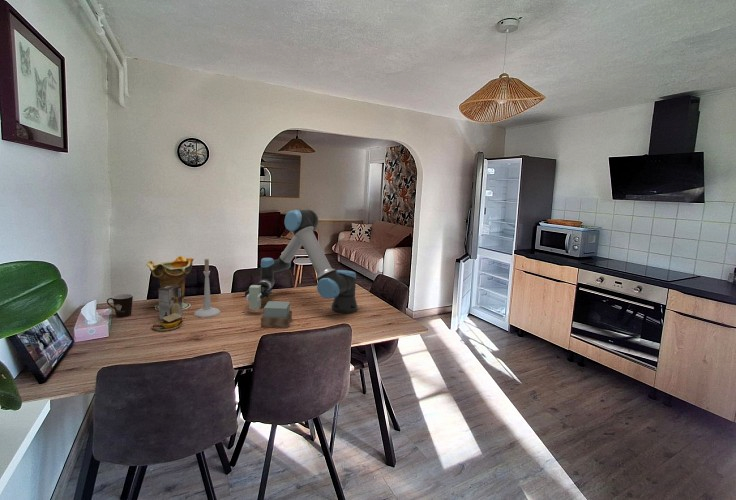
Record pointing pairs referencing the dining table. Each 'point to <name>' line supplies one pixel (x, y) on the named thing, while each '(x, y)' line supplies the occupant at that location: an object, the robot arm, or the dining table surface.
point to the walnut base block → (276, 321)
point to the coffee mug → (122, 304)
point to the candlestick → (207, 297)
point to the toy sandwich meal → (168, 323)
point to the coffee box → (170, 300)
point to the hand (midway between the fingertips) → (252, 298)
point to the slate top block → (276, 309)
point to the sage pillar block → (254, 296)
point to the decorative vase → (172, 274)
